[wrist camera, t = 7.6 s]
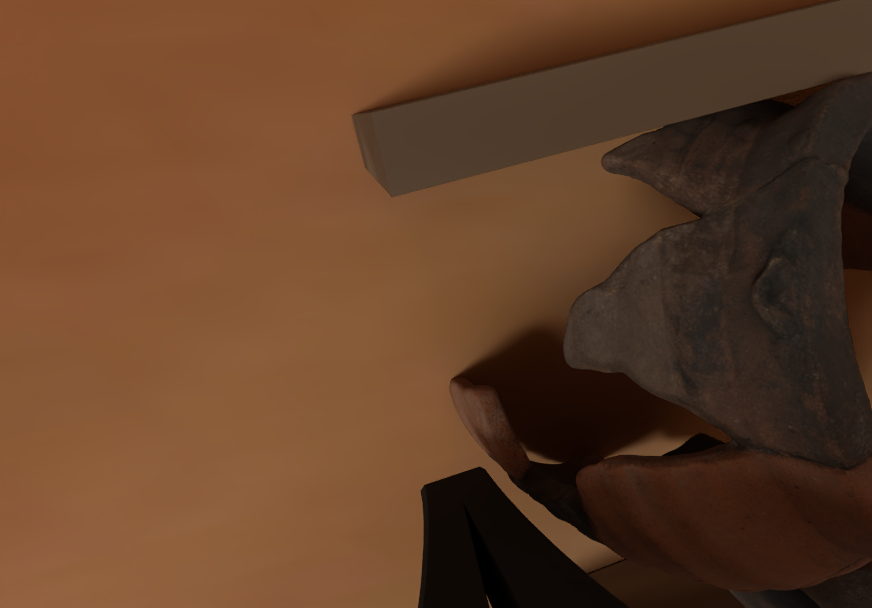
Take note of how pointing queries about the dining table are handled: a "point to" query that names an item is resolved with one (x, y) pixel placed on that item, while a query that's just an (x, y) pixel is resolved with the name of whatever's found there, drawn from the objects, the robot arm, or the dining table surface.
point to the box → (609, 119)
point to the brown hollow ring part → (732, 359)
